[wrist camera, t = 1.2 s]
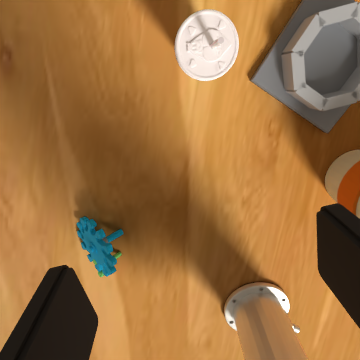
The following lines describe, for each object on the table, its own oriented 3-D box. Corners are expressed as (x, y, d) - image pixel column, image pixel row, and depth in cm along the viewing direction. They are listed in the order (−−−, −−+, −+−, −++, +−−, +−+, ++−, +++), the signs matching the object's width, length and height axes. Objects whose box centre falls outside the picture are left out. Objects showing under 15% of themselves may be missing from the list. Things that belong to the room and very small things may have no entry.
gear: (68, 209, 41) (104, 241, 35) (101, 195, 44) (139, 221, 38) (79, 260, 46) (112, 295, 40) (108, 244, 50) (142, 273, 44)
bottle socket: (394, 42, 35) (421, 38, 31) (324, 132, 39) (340, 137, 35) (317, -25, 32) (337, -38, 28) (249, 80, 36) (259, 81, 32)
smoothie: (221, 78, 36) (251, 79, 23) (174, 81, 36) (178, 84, 23) (221, 25, 34) (254, -8, 21) (171, 28, 33) (173, -3, 20)
